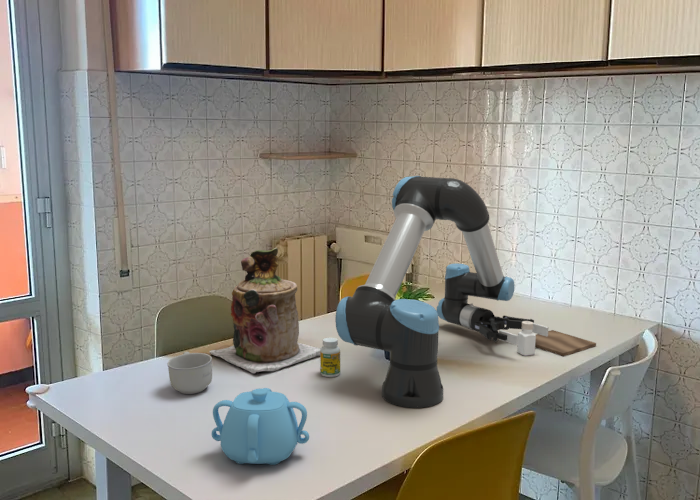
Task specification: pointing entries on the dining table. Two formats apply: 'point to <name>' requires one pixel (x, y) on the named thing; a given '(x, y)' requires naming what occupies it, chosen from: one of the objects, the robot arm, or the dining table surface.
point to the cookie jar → (265, 319)
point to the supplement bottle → (330, 358)
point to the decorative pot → (259, 427)
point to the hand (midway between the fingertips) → (532, 336)
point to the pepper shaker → (526, 339)
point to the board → (562, 343)
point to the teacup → (190, 372)
